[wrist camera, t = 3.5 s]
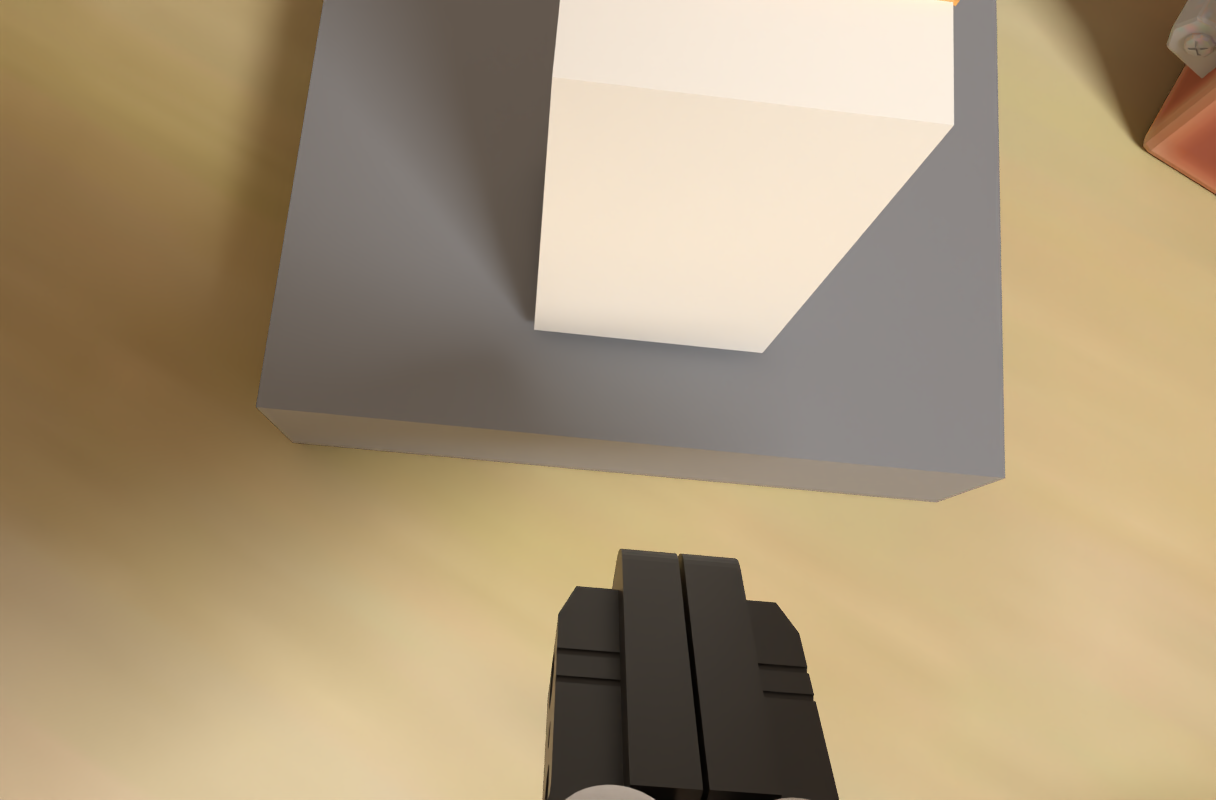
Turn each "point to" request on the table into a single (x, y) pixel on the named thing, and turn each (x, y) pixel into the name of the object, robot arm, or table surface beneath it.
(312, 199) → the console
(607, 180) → the fader tab
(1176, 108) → the control panel
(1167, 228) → the table surface
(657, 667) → the robot arm
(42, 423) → the table surface
